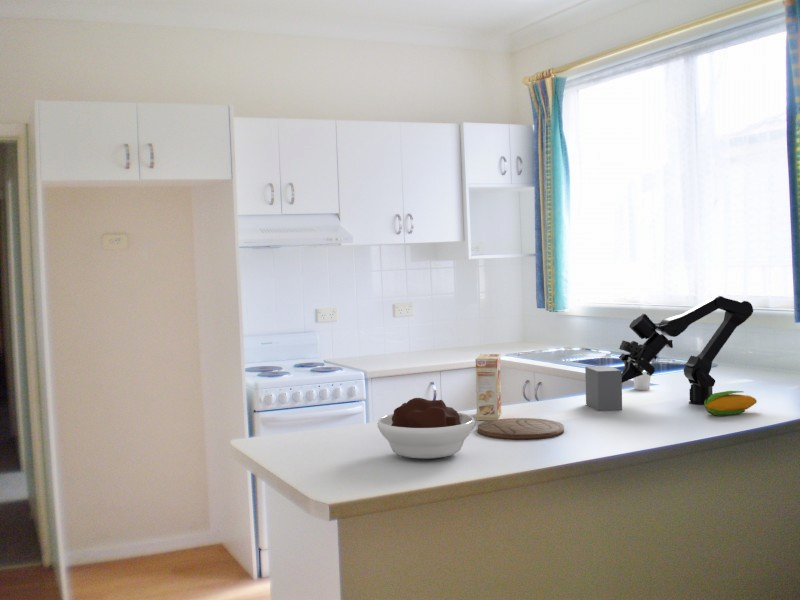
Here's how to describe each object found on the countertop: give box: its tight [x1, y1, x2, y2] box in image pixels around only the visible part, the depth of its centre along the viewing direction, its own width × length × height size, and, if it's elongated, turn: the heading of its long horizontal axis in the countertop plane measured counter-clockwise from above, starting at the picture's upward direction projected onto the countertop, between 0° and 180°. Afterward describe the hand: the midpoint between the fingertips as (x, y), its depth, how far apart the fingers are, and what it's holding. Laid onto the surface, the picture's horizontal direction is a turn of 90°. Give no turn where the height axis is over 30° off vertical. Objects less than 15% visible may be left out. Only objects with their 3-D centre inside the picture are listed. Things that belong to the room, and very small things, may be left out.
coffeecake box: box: [475, 353, 502, 421], centre depth 266 cm, size 15×7×20 cm, turn 168°
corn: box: [704, 390, 758, 417], centre depth 260 cm, size 7×8×20 cm
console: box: [584, 365, 623, 412], centre depth 277 cm, size 8×13×13 cm, turn 5°
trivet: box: [477, 417, 565, 441], centre depth 241 cm, size 25×25×2 cm
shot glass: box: [633, 370, 652, 391], centre depth 315 cm, size 7×7×7 cm
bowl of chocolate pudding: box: [377, 397, 476, 460], centre depth 213 cm, size 25×25×15 cm
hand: (619, 382), depth 277 cm, fingers closed, pressing on button
